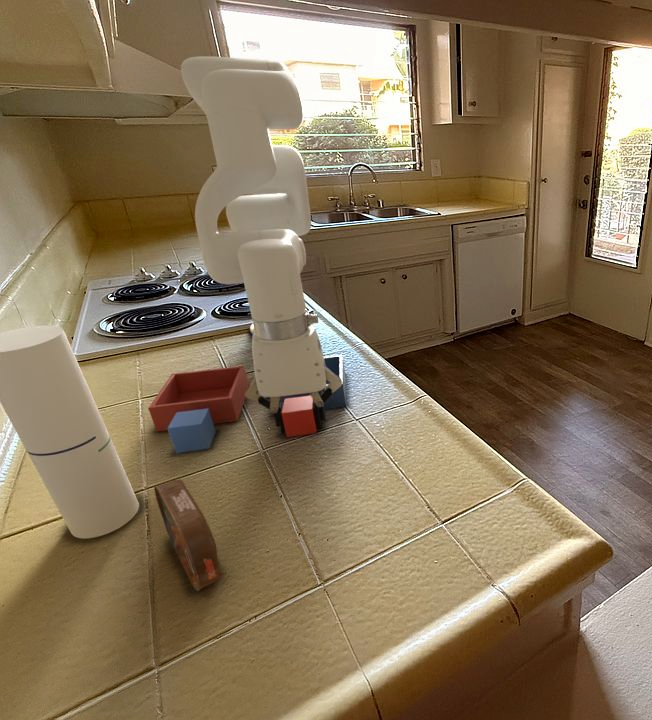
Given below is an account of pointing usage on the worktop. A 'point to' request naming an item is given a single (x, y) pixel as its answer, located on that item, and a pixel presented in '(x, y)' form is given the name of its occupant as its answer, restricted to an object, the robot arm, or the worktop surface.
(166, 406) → the red bin
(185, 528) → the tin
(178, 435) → the blue block
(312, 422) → the red block
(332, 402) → the blue bin
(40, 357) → the cylindrical container
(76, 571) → the worktop surface
